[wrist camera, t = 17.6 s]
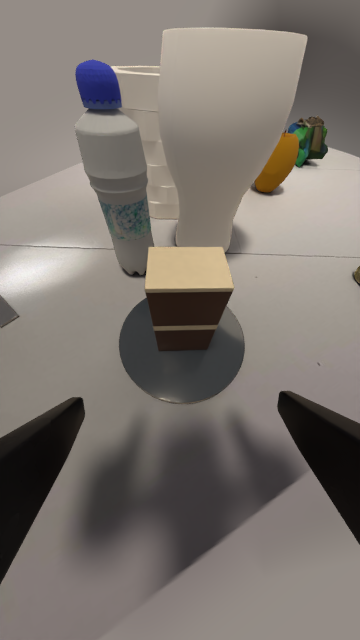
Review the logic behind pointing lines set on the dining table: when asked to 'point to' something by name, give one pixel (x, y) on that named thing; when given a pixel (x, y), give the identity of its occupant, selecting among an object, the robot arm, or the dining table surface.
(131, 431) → the dining table surface
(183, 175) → the white vase
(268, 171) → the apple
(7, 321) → the cake knife
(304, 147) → the sculpture
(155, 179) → the basket
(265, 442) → the dining table surface
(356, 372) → the dining table surface
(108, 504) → the dining table surface
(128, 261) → the bottle
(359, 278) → the lime
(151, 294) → the cake slice
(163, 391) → the plate
